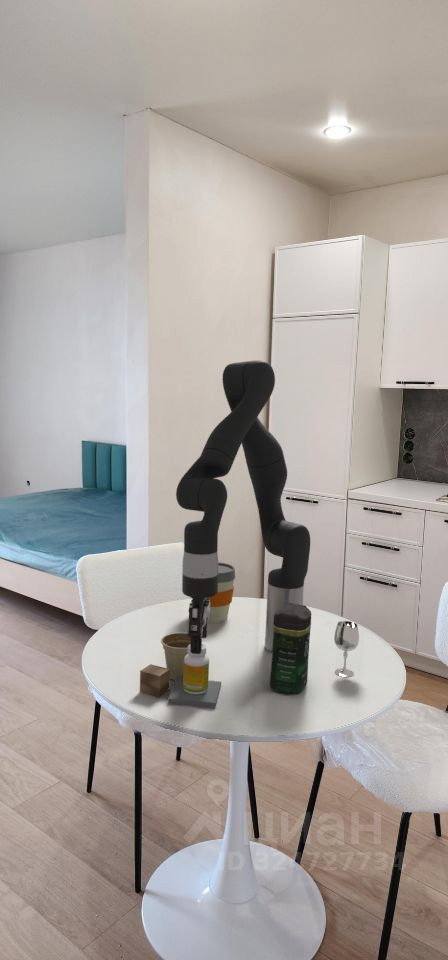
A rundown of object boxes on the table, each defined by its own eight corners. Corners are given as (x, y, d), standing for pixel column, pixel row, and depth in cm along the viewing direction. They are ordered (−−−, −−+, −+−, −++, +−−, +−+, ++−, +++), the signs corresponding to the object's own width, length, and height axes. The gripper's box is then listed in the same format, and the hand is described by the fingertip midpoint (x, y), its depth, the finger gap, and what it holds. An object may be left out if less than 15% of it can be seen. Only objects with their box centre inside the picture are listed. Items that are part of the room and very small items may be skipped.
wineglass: (358, 670, 153) (361, 622, 151) (354, 679, 147) (358, 630, 146) (334, 666, 155) (337, 618, 153) (330, 675, 149) (333, 626, 148)
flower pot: (169, 688, 140) (170, 650, 139) (153, 671, 148) (154, 635, 147) (207, 680, 144) (209, 644, 143) (190, 664, 152) (191, 630, 151)
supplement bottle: (207, 695, 134) (209, 652, 133) (182, 694, 134) (183, 650, 133) (208, 684, 140) (210, 642, 138) (184, 683, 140) (185, 641, 138)
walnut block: (169, 690, 139) (169, 669, 138) (159, 698, 135) (159, 676, 134) (150, 685, 141) (150, 664, 140) (139, 692, 137) (140, 670, 137)
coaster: (221, 686, 141) (221, 681, 141) (215, 708, 131) (215, 702, 131) (177, 682, 142) (177, 677, 142) (168, 703, 133) (168, 698, 132)
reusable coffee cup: (240, 614, 189) (242, 565, 187) (222, 628, 177) (225, 575, 175) (202, 607, 194) (204, 559, 192) (183, 620, 182) (184, 569, 180)
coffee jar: (300, 699, 137) (305, 616, 134) (265, 692, 139) (269, 611, 137) (311, 681, 146) (315, 603, 143) (277, 675, 148) (281, 598, 146)
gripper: (213, 582, 126) (212, 660, 128) (221, 563, 140) (220, 633, 142) (176, 580, 126) (175, 657, 129) (188, 561, 141) (187, 631, 143)
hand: (199, 645), depth 135 cm, fingers open, 8 cm apart
